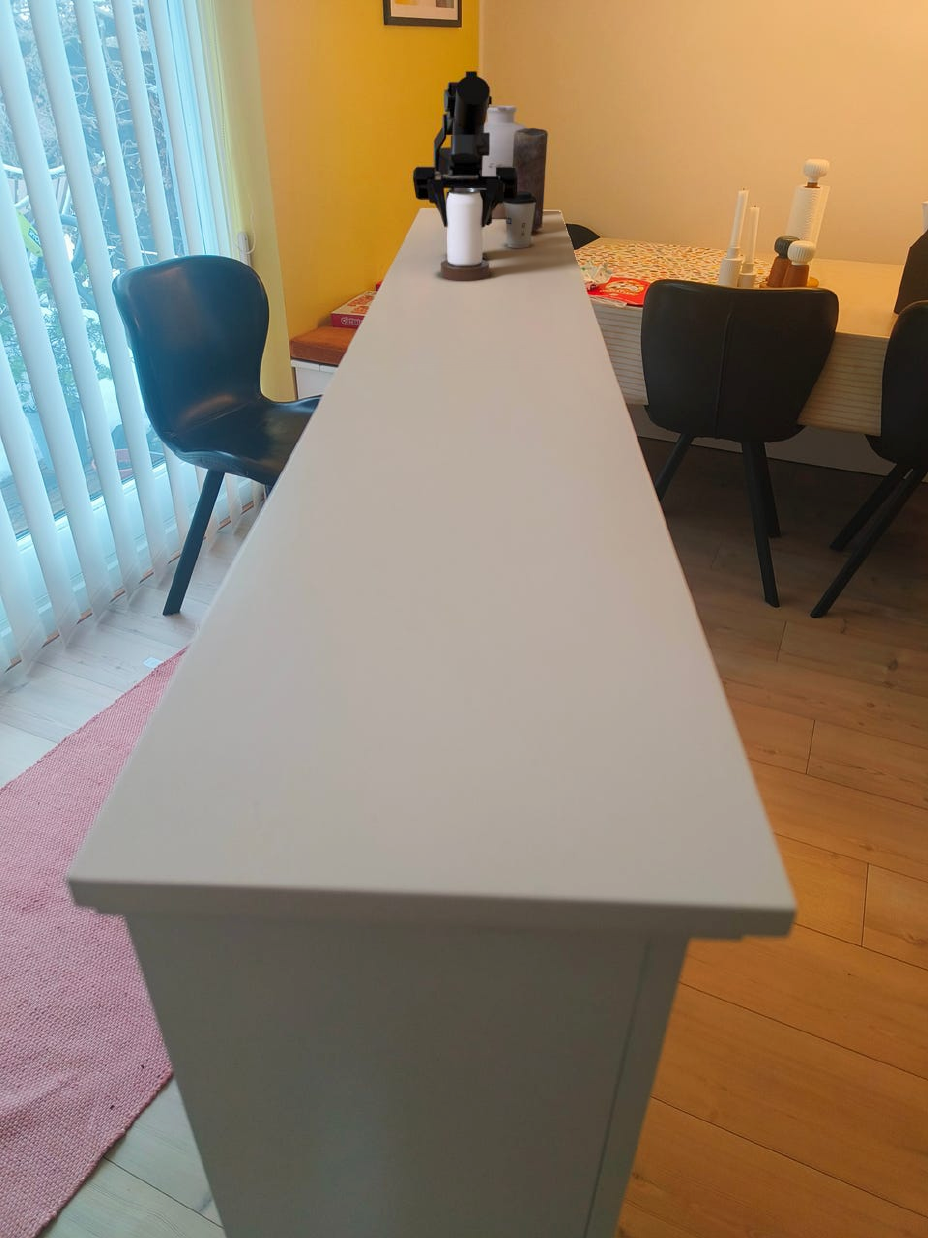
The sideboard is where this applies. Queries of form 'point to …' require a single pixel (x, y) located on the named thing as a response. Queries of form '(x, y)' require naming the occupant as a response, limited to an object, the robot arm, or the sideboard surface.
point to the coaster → (465, 271)
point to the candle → (531, 166)
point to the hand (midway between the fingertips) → (464, 225)
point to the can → (464, 227)
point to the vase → (500, 144)
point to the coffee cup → (519, 219)
